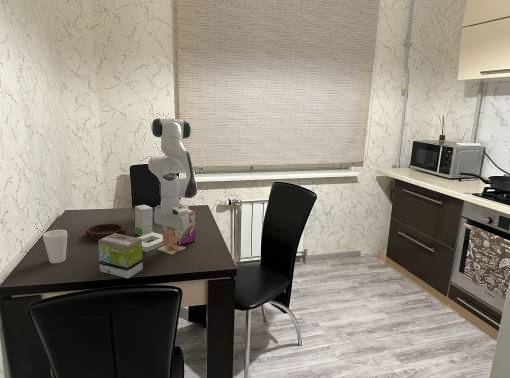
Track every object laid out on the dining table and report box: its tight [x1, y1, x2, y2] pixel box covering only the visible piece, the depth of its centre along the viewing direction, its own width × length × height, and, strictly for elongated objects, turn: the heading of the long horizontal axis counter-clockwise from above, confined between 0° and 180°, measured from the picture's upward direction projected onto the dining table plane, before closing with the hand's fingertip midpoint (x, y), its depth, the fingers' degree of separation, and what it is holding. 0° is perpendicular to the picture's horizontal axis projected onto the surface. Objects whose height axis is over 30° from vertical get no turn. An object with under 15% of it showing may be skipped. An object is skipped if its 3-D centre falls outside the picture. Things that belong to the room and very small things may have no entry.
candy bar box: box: [172, 209, 197, 246], centre depth 188 cm, size 11×5×16 cm, turn 135°
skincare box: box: [134, 204, 154, 237], centre depth 199 cm, size 8×7×16 cm
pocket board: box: [137, 231, 166, 253], centre depth 186 cm, size 17×14×2 cm
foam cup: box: [42, 229, 68, 264], centre depth 161 cm, size 10×9×13 cm
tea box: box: [97, 233, 144, 279], centre depth 153 cm, size 15×10×15 cm
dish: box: [84, 223, 127, 241], centre depth 194 cm, size 18×22×5 cm
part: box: [162, 228, 180, 245], centre depth 178 cm, size 7×4×6 cm, turn 149°
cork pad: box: [156, 243, 187, 255], centre depth 180 cm, size 10×10×1 cm
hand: (171, 235), depth 178 cm, fingers closed on part, 4 cm apart
